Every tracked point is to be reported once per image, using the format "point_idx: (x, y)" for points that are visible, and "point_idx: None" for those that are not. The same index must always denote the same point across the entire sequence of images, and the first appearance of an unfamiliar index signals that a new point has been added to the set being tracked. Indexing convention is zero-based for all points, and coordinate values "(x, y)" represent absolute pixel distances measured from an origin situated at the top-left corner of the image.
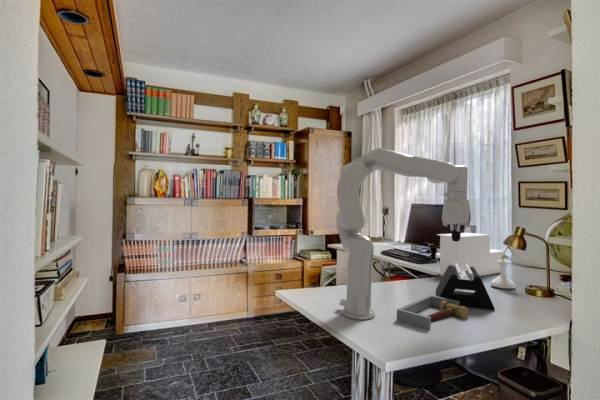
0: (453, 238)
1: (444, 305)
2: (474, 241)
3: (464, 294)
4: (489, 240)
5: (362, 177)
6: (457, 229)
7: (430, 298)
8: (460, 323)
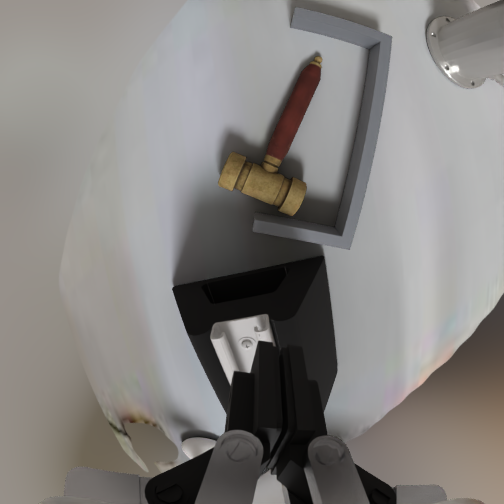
0: (294, 359)
1: (291, 183)
2: None
3: None
4: None
5: None
6: (248, 460)
7: (343, 226)
8: (229, 108)
